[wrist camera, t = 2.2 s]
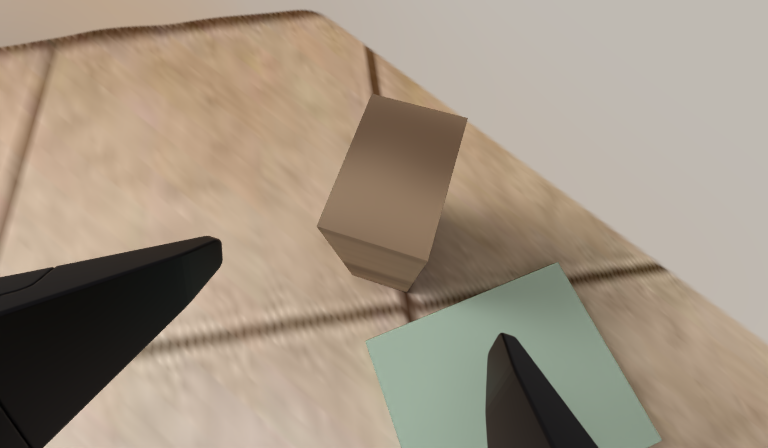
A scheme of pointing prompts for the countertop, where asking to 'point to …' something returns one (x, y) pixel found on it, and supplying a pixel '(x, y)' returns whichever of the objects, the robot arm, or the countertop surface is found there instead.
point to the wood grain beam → (392, 190)
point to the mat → (469, 366)
